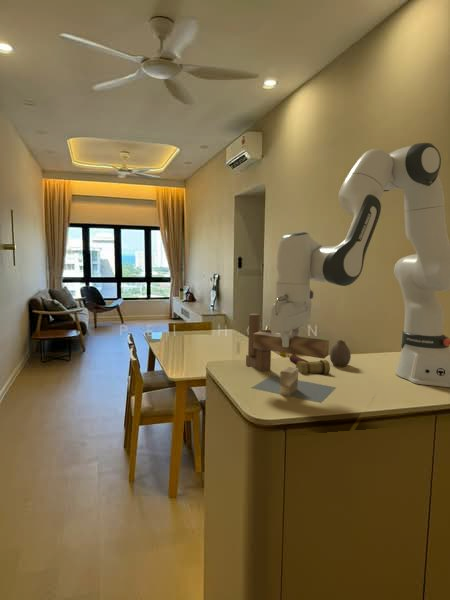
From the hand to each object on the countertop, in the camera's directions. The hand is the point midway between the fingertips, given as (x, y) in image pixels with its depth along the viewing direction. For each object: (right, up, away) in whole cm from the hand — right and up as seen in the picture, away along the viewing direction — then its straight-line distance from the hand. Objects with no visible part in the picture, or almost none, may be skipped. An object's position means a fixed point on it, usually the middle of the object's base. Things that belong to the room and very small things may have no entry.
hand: (290, 344), depth 107 cm
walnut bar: (0, -2, 0) cm, 2 cm away
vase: (+23, -11, +31) cm, 40 cm away
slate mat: (+2, -13, +5) cm, 14 cm away
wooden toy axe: (-7, -11, +26) cm, 29 cm away
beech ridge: (0, -13, +1) cm, 13 cm away
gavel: (+9, -11, +29) cm, 33 cm away
